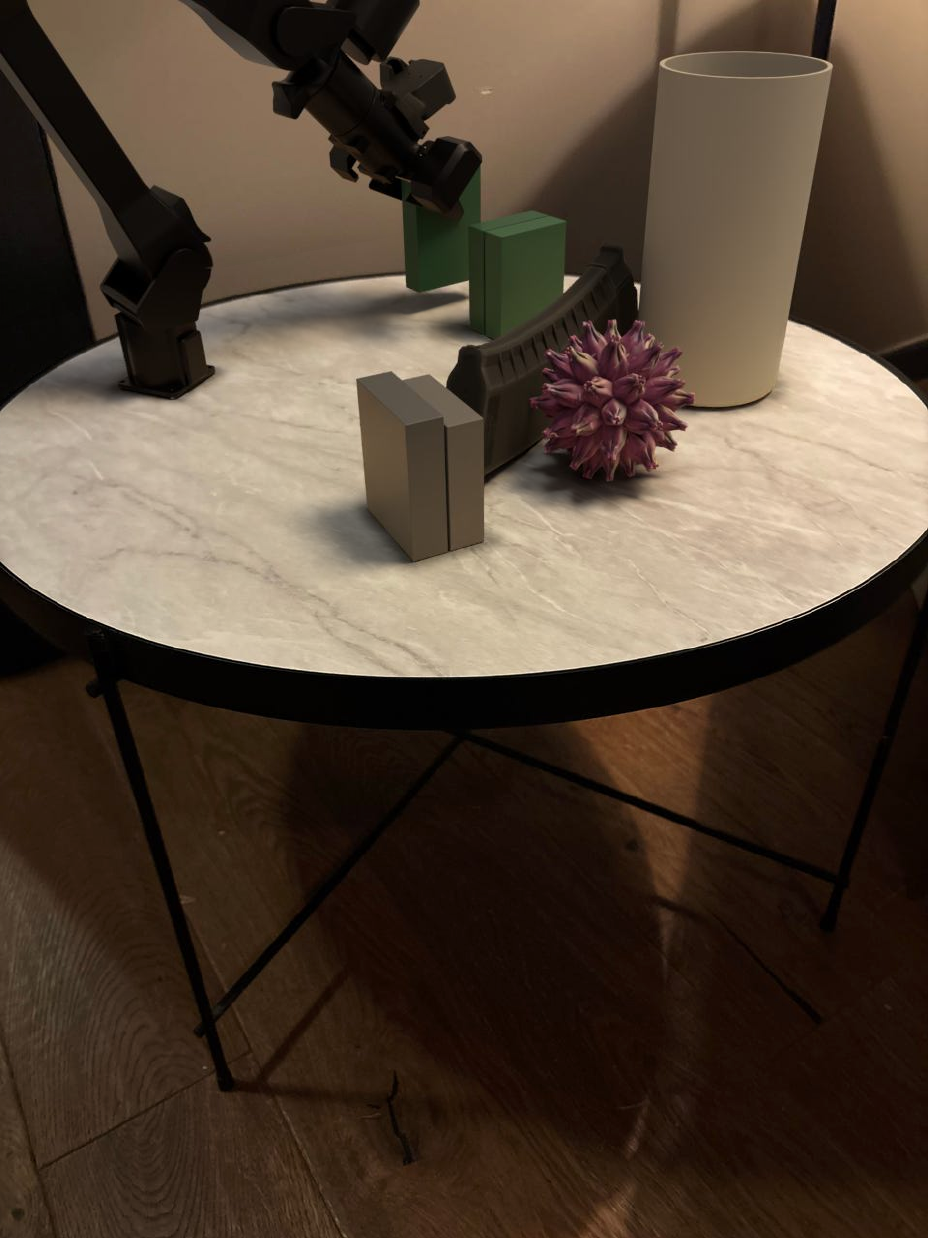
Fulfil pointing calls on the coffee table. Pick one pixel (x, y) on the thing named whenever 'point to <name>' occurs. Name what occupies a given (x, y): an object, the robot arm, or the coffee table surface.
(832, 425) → the coffee table surface
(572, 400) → the flower
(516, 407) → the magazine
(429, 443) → the grey books
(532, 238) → the green books
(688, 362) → the cylinder vase
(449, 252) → the green book
